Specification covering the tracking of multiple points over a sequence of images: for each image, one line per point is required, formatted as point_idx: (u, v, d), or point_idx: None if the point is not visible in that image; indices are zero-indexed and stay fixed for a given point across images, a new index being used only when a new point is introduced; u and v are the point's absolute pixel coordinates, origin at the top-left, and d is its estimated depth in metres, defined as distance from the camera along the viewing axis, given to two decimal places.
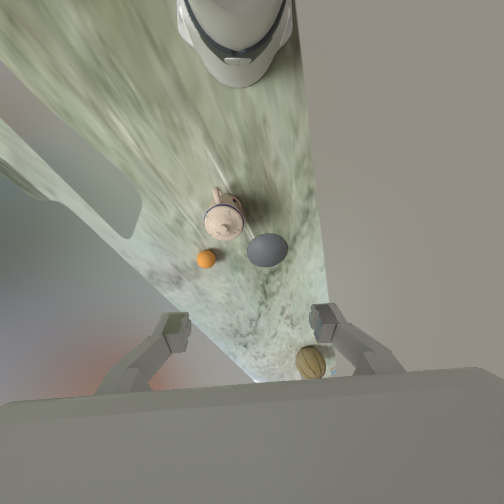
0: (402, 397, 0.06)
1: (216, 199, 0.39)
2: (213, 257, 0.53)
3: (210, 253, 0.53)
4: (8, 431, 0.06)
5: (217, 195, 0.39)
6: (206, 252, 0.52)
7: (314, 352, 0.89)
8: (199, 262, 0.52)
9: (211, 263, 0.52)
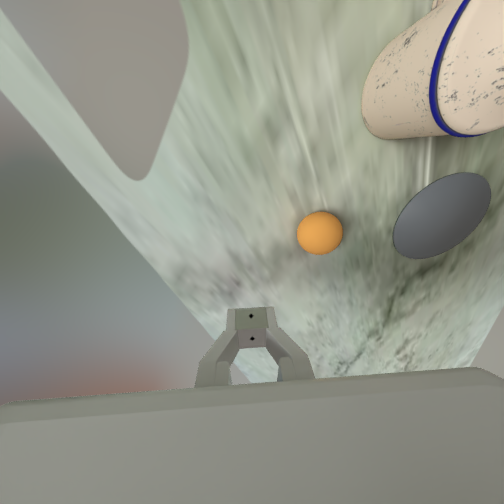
0: (402, 397, 0.06)
1: None
2: (341, 226, 0.22)
3: None
4: (8, 431, 0.06)
5: None
6: (327, 213, 0.21)
7: None
8: (313, 236, 0.21)
9: (340, 240, 0.21)
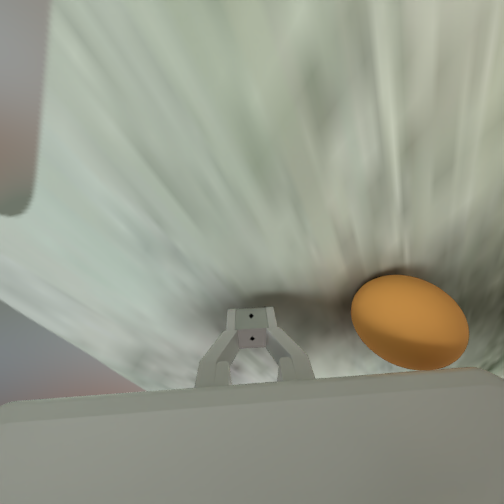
0: (402, 397, 0.06)
1: None
2: None
3: (444, 292, 0.10)
4: (8, 431, 0.06)
5: None
6: (430, 287, 0.10)
7: None
8: (407, 346, 0.09)
9: None
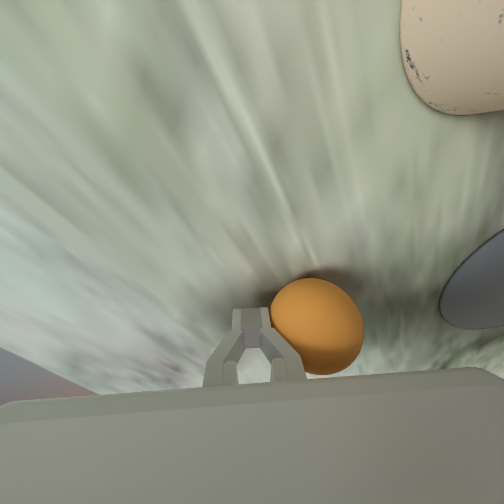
0: (402, 397, 0.06)
1: None
2: None
3: (341, 292, 0.10)
4: (8, 431, 0.06)
5: None
6: (326, 291, 0.10)
7: None
8: (307, 358, 0.09)
9: None
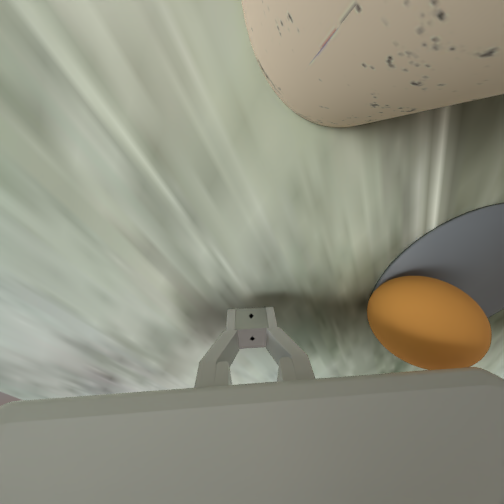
0: (402, 397, 0.06)
1: None
2: (438, 338, 0.09)
3: (449, 311, 0.09)
4: (8, 431, 0.06)
5: None
6: (437, 290, 0.10)
7: None
8: (373, 292, 0.13)
9: (394, 339, 0.10)
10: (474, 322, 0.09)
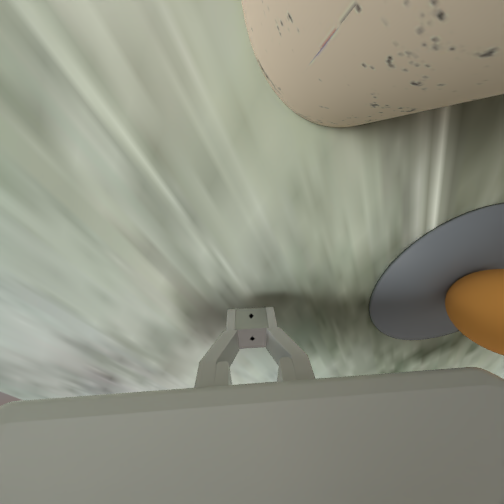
0: (402, 397, 0.06)
1: None
2: None
3: None
4: (8, 431, 0.06)
5: None
6: None
7: None
8: None
9: None
10: None
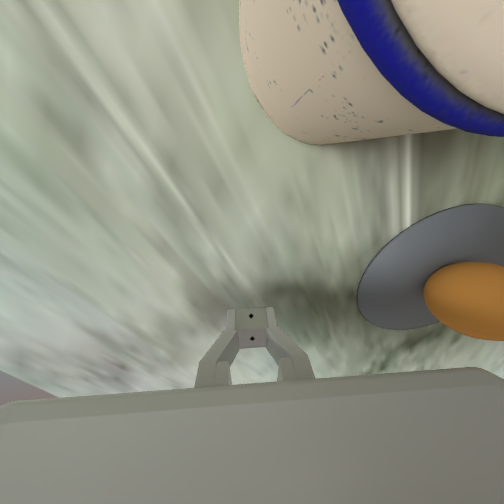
0: (402, 397, 0.06)
1: None
2: None
3: None
4: (8, 431, 0.06)
5: None
6: None
7: None
8: None
9: None
10: None
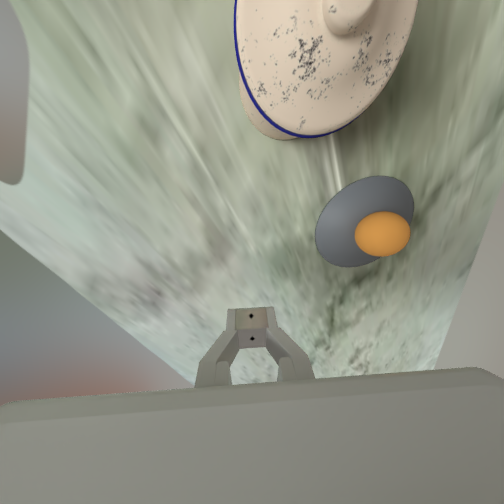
0: (402, 397, 0.06)
1: None
2: None
3: None
4: (8, 431, 0.06)
5: None
6: (391, 213, 0.20)
7: None
8: (388, 241, 0.19)
9: None
10: None
